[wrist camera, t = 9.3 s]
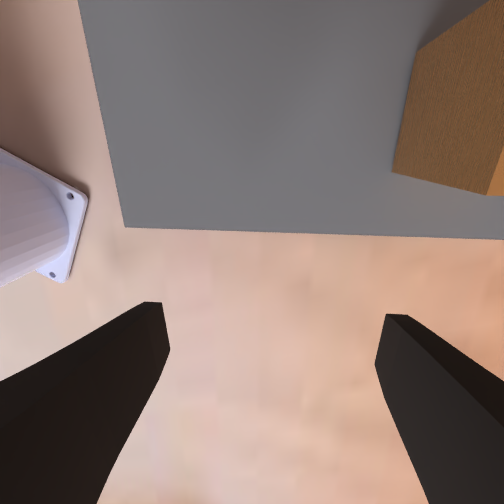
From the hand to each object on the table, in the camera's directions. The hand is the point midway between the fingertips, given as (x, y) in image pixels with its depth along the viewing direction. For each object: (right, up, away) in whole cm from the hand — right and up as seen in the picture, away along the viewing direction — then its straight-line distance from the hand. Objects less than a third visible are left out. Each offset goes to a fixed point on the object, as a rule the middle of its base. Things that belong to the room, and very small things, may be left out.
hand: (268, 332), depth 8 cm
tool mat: (+3, +10, +6) cm, 12 cm away
